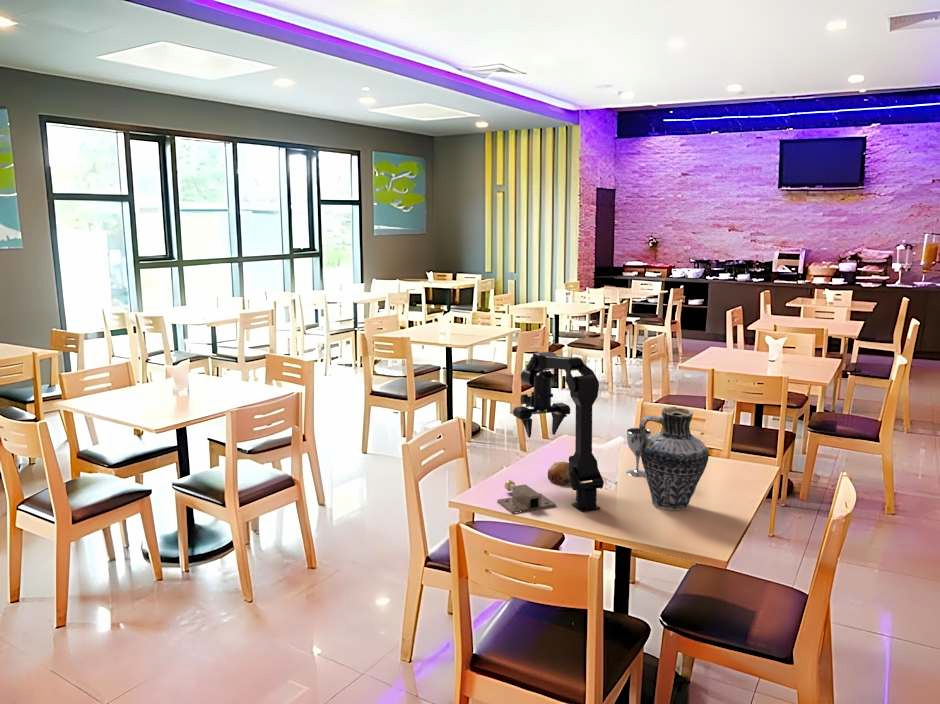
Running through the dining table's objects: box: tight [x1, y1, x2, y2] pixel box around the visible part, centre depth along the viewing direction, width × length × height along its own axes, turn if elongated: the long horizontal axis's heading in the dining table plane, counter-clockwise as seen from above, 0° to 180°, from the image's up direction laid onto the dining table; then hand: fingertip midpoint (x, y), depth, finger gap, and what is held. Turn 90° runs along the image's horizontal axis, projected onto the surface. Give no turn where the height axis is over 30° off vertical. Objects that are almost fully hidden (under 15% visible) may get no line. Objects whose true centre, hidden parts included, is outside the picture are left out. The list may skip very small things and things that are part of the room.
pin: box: [504, 480, 516, 492], centre depth 235 cm, size 12×3×3 cm, turn 24°
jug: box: [639, 406, 710, 511], centre depth 227 cm, size 21×19×30 cm
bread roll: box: [547, 461, 570, 486], centre depth 252 cm, size 10×10×8 cm
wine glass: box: [626, 427, 652, 478], centre depth 258 cm, size 8×8×15 cm
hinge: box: [496, 484, 557, 514], centre depth 230 cm, size 10×15×4 cm
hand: (541, 435), depth 251 cm, fingers open, 9 cm apart
